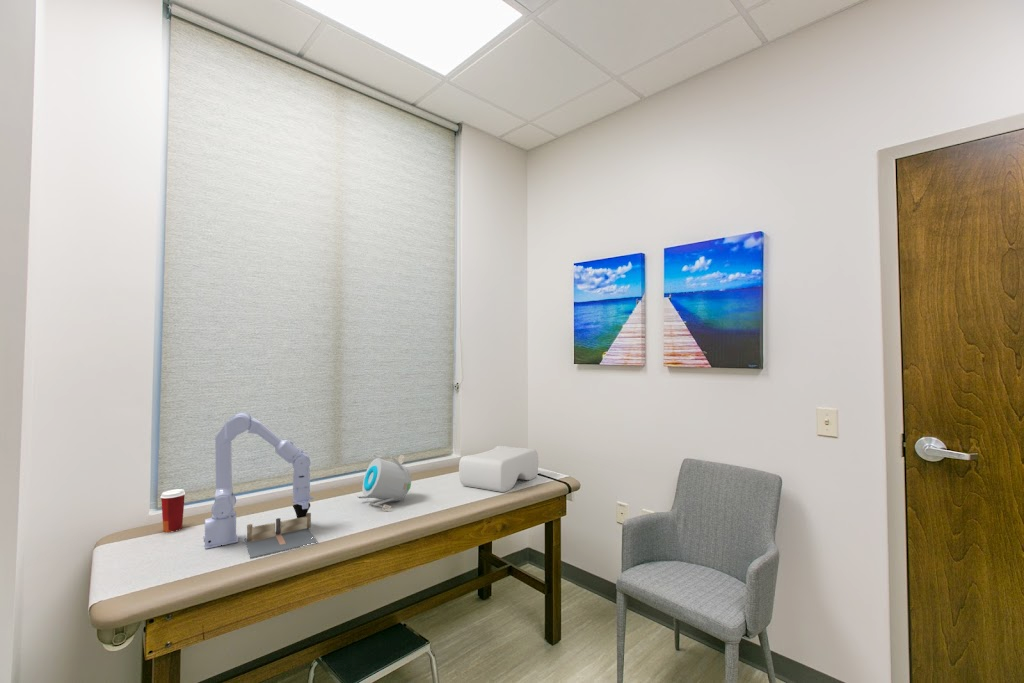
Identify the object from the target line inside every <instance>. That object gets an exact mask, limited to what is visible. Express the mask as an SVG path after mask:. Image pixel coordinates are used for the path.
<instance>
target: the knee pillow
mask: <svg viewBox="0 0 1024 683" xmlns="http://www.w3.org/2000/svg"><path fill="white" fill-rule="evenodd" d="M458 463H459V464H458V476H459V482H460V484H461V485H462V486H465V487H470V488H473V489H474V488H475V489H476V488H477V489H482V490H487V491H492V492H493V491H494V492H499V493H506V492H508V491H510V490H512V489H513V488H514V487H515V485H516V483H517V480H522V481H532V480H534V479H536V477H537V476H538V472H539V454H538V451H537V450H536V449H533V448H524V447H515V446H514V447H513V446H505V445H497V446H495V447H494V448H493V449H490V450H486V451H483V452H480V453H476V454H475V453H474V454H468V455H464V456H462V457H461V458H460V459H459V462H458Z"/></svg>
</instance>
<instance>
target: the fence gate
mask: <svg viewBox="0 0 1024 683" xmlns="http://www.w3.org/2000/svg"><path fill="white" fill-rule="evenodd" d="M311 527H312V514H311V512H307V514H306V516H305V517H300V518H297V517H296V518H291V519H286V520H281V517H278V518H275V532H276V534H277V535H278V534H280V533H281V534H282V533H287V532H292V531H296V530H301V529H306V528H309V529H311Z"/></svg>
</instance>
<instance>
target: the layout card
mask: <svg viewBox="0 0 1024 683" xmlns="http://www.w3.org/2000/svg"><path fill="white" fill-rule="evenodd" d="M312 537H313V538H312ZM314 537H315V536H314V533H312V531H311V530H310V528H306V529H301V530H296V531H292V532H287V533H282V534H281V533H280V534H278V535H277V534H276V531H275V536H272V537H267V538H263V539H258V540H253V541H250V542H247V537H246V538H244V541H245V542H244V543H245V545H247V546H246V548H248V549H247V552H248V555H250V556H249V558H250V560H251V558H252V559H255V558H254V557H256V558H259V557H258V556H260V557H264V556H268V554H269V555H272V554H271V553H273V554H277V553H281V552H280V551H282V552H286V551H290V550H293V549H292V548H295V549H297V548H296V547H299V548H301V547H300V546H303V545H307V544H311V543H316V542H318V543H319V541H318V540H317V539H316V537H315V538H314ZM311 538H312V539H311ZM316 544H317V543H316ZM303 547H304V546H303ZM289 549H290V550H289ZM285 550H286V551H285ZM276 552H277V553H276ZM263 555H264V556H263Z"/></svg>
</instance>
